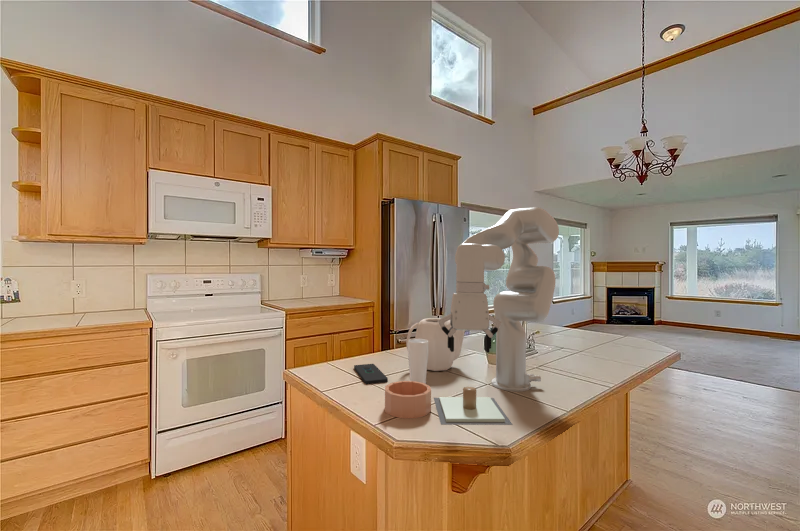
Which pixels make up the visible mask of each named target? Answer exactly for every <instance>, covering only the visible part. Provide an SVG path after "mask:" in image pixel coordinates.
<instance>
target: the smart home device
mask: <svg viewBox="0 0 800 531" xmlns="http://www.w3.org/2000/svg"><path fill="white" fill-rule="evenodd" d="M353 369H354V371H355V372H356V373H357V375H358V376H359V378H360V379H361V380H362V382H364V384H365V385H373V384H382V383H384V384H385V383H388V380H389V378H388V377H387V376H386V375H385V373H383V372H382V370H381V369H379V368H378V367H377V365H375V364H374V363H365V364H355V365H353Z"/></svg>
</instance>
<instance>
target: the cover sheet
mask: <svg viewBox="0 0 800 531" xmlns="http://www.w3.org/2000/svg"><path fill="white" fill-rule="evenodd" d="M438 398H439V401H440V404H441V407H442V410H443V413H444V417H445V420H446V422H505V418H504V417H503V415H502V414H501V412H500V411H499V410H498V408H497V407H496V405H495V404H494V402H493V401H492V400H491V398H492V397H490V396H477V388H476V387H473V386H464V387H463V388H462V396H439V397H438Z"/></svg>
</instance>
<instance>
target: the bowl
mask: <svg viewBox="0 0 800 531" xmlns="http://www.w3.org/2000/svg"><path fill="white" fill-rule="evenodd" d="M431 411H432V388H431V386H430V385H429V384H427V383H426V384H425V383H422V382H416V381H410V380H399V381H394V382H390V383H389V384H387V385H385V387H384V413H385V414H387V415H390V416H392V417H395V418H396V417H397V418H399V419H417V418H421V417H425V416H427V415H428V414H430V413H431Z"/></svg>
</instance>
